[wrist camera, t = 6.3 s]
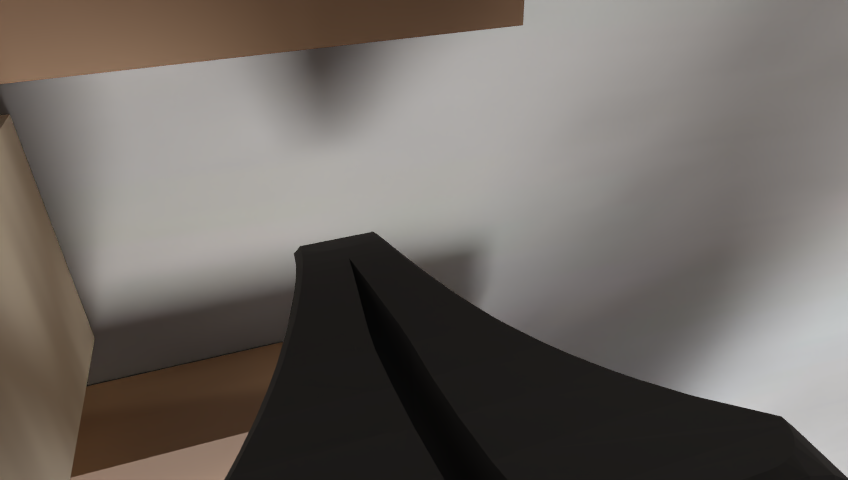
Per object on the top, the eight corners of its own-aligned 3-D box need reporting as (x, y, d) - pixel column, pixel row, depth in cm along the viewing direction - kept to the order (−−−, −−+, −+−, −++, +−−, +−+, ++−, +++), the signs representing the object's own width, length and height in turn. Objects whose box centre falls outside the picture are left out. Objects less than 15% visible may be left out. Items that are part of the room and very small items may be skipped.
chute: (463, 345, 17) (514, 435, 14) (-154, 496, 13) (-233, 651, 11) (466, -93, 11) (550, -75, 9) (-582, -28, 8) (-953, 32, 5)
